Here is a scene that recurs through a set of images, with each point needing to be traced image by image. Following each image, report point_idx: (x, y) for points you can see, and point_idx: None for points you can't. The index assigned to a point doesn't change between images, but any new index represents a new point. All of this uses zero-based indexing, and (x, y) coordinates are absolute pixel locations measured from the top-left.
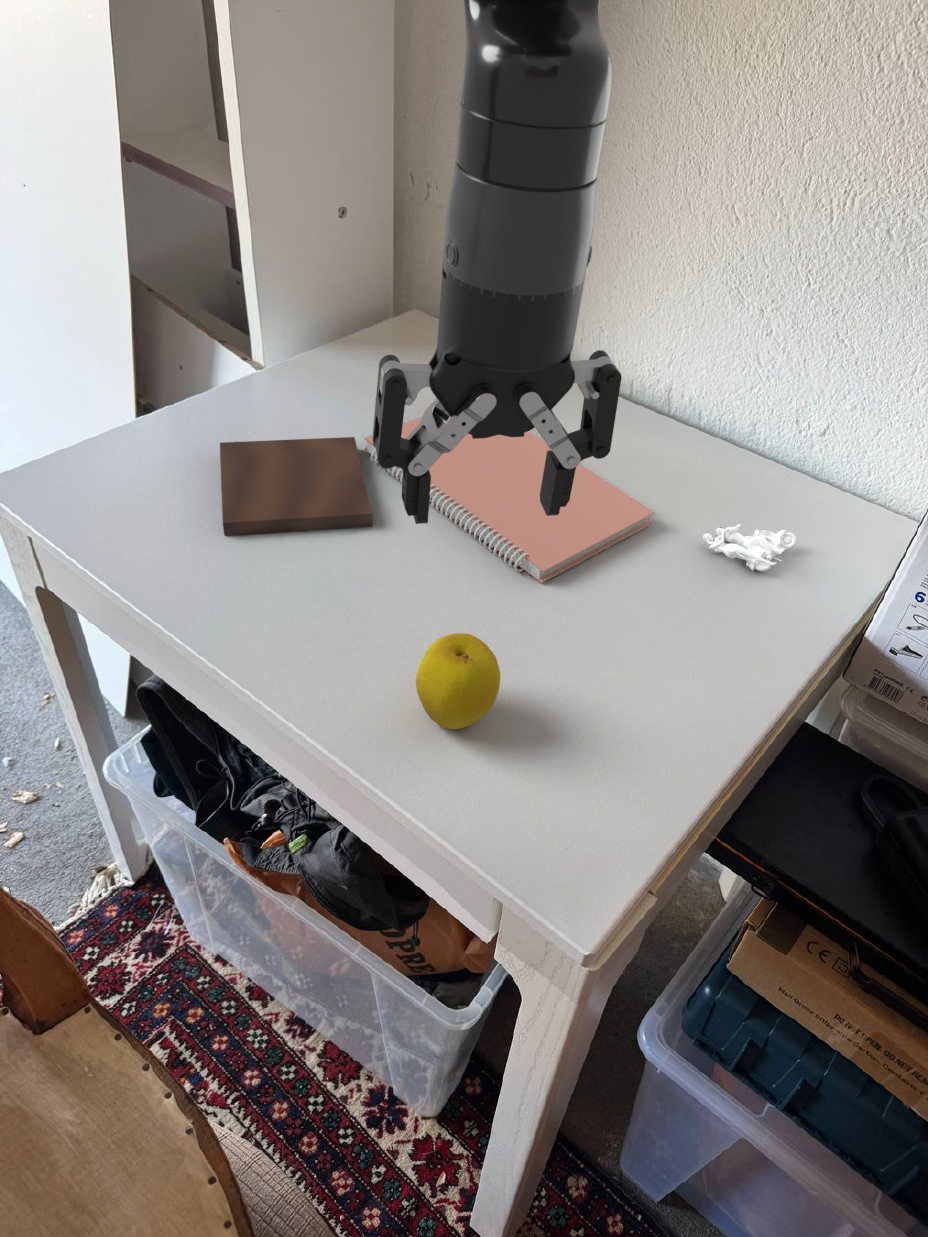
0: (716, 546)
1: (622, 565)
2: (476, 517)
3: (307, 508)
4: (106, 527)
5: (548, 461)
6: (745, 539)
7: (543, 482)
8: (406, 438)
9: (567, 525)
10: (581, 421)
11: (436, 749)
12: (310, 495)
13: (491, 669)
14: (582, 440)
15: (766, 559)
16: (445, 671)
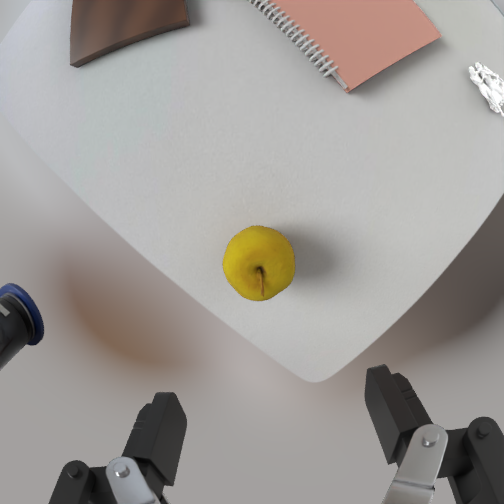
0: (476, 81)
1: (413, 78)
2: (288, 17)
3: (130, 27)
4: (18, 87)
5: (392, 431)
6: (492, 82)
7: (378, 394)
8: (108, 480)
9: (374, 34)
10: (475, 455)
11: None
12: (133, 11)
13: (286, 284)
14: (445, 474)
15: (500, 106)
16: (244, 292)
